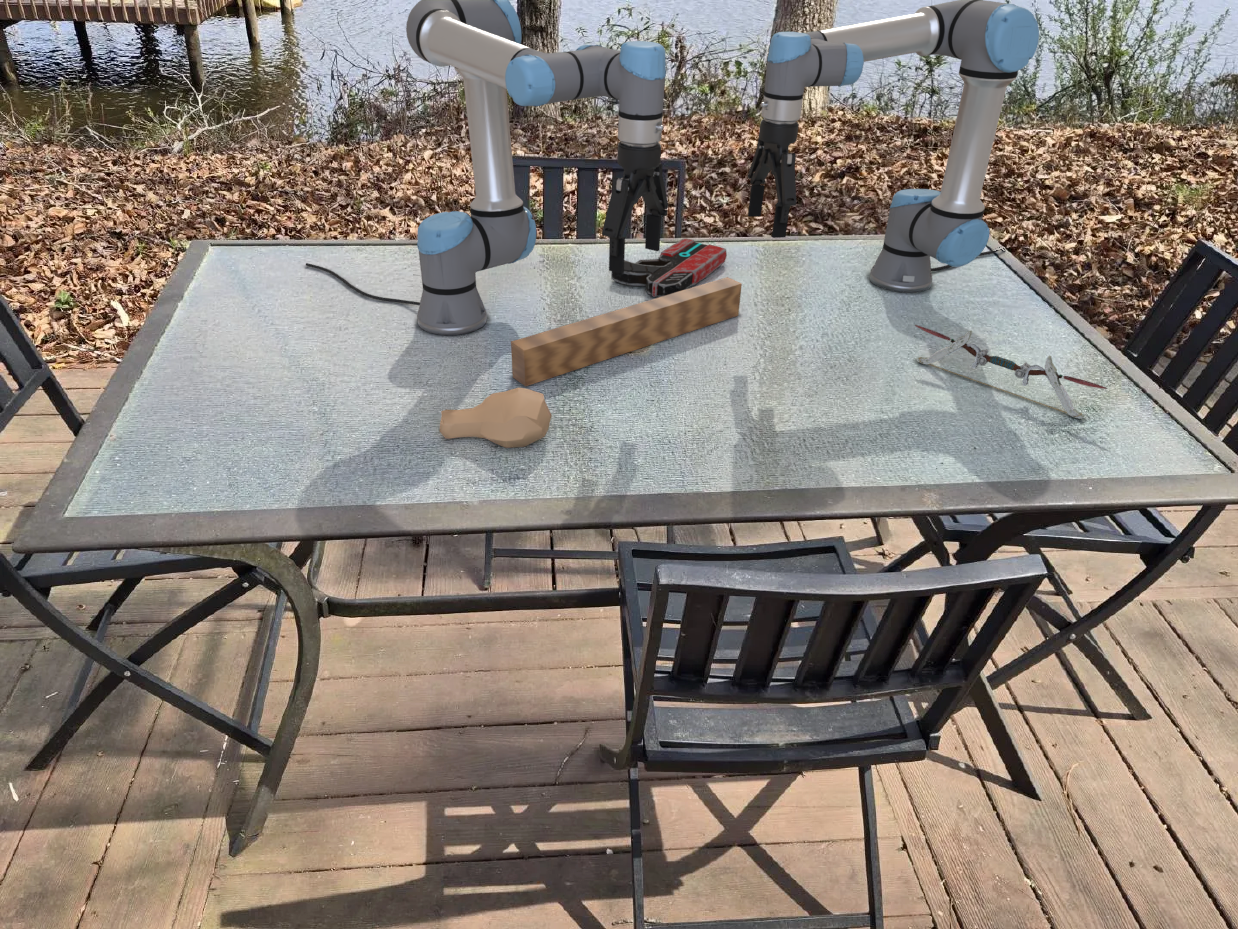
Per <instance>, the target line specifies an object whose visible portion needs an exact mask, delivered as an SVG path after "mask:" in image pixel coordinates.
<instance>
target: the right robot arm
mask: <svg viewBox="0 0 1238 929" xmlns="http://www.w3.org/2000/svg"><path fill="white" fill-rule="evenodd" d="M1039 40H1040V28H1039V24H1038V20H1037V19H1036V18H1035V16H1034V14H1033V12H1032V11H1031V10H1029V9H1027V8H1025V7H1022V6H1019V5H1016V4H1014V3H1007V2H1000V1H991V0H952V1H947V2H942V3H937V4H932V5H926V6H923V7H920V8H918V9H917V10H916V11H915V12H914V13H911V14H906V15H900V16H894V17H888V18H883V19H876V20H870V21H865V22H860V23H855V24H853V23H852V24H848V25H843V26H837V27H832V28H831V27H830V28H824V29H820V30H814V31H807V32H797V31H794V30H793V31H778V32H776V33H773V35H772V36H771V40H770V44H769V47H768V48H769V49H768V54H767V59H766V60H767V64H766V75H765V82H764V90H763V91H764V92H763V99H762V100H763V101H762V102H761V103H760V107H761V117H762V119H761V120H760V123H759V129H758V130H759V132H758V139H757V145H756V149H755V151H754V154H753V158H752V160H751V164H750V166H749V170H748V173H747V179H748V180H750V181H749V182H750V195H749V201H748V202H749V203H748V211H747V217H749V218H751V217H752V218H755V217H761V216H762V210H763V202H764V194H765V185H766V184H767V183H766V179H767V177H768V175H769V174H770V173H771V174H772V175H773V176H774V183H775V191H776V197H777V202H776V203H775V205H774V207H775V209H774V218H773V224H772V232H771V238H773V239H779V238H781V239H783V238H786V236H787V229H788V222H789V216H790V210H791V209H790V208H791V207H793V206H794V207H795V206H796V205H797V186H796V185H797V183H796V158H797V155H796V154H797V153H795V152H790V150H789V147H790V145H792V144H794V143H796V142H797V140H798V134H799V127H800V124H799V122H798V121H799V120H800V119H801V115H802V107H803V101H804V94H805V88H811V87H817V88H818V87H838V88H840V87H844V86H851V85H854V84H855V83H856V82H857V81H858V80H859V79H860V78H861V75H862V73H863V71H864V65H865V63H867V62H871V61H876V60H882V59H887V58H894V57H899V56H904V55H909V54H916V55H917V56H920V57H926V56H927V57H928V56H943V57H949V58H953V59H958V60H960V65H959V69H958V76H959V77H960V78H961V80H962V81H963V88H962V91H961V96H960V100H959V105H958V110H957V114H956V119H955V124H954V129H953V133H952V134H953V135H952V138H951V141H950V142H951V143H950V147H949V152H948V156H947V161H946V166H945V170H944V175H943V179H942V184H941V189H940V191H939V190H935V189H928V188H906V189H901V190H899V191H898V190H897V191H896V192H895V193H894V195H893V197H892V199H891V200H892V201H891V203H890V206H889V212H888V217H887V222H886V228H885V234H884V239H883V244H882V249H881V251H880V253H879V254H878V256H877V258H876V261H875V262H874V265H872V267H871V269H870V272H869V276H868V277H869V281H870V282H871V283H872V284H873V285H874V286H877V287H878V288H881V289H883V290H887V291H889V292H890V291H891V292H896V293H904V294H905V293H906V294H915V293H921V292H925V291H928V290H929V289H930V288H931V287H932V284H933V283H932V282H933V273H932V272H938V271H943V270H947V269H950V268H954V267H955V268H959V267H963V266H967V265H969V264H970V263H972V262H973V261H974V260H975V259H976V258H977V257H982V256H988V255H993V254H995V253H997V252H998V251H1002V252H1003V253H1005V252H1006V249H1005V247H1003V249H1004V250H1005V251H1003V250H1002V249H1000V250H996V251H992V250H989V251H984V249H985V248H986V247H987V245H988V243H989V239H990V235H991V234H990V228H989V226H988V223H986V222H985V221H984V220H983V218H984V213H985V208H986V206H985V204H984V202H983V201H982V200H981V196H982V191H983V186H984V182H985V179H986V174H987V170H988V167H989V166H988V165H989V162H990V159H991V153H992V149H993V146H994V142H995V137H996V134H997V133H996V132H997V130H998V124H999V121H1000V117H1001V112H1002V108H1003V103H1004V99H1005V95H1006V91H1007V87H1008V86H1009V85H1010V84H1011V83H1013V82H1014V81H1015V80H1016V79H1017V78H1018V74H1019V71H1020V70H1022V69H1023V68H1025V67H1027V65H1029V62H1030V60H1032V59H1033V57H1034V56H1035V53H1036V52H1037V49H1038V46H1039ZM998 247H999V248H1000V247H1001V246H998ZM931 258H933V259H934V260H936V261H937V262H938V263H941V264H944V265H942V266H938V267H932V263H931Z"/></svg>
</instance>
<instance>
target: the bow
mask: <svg viewBox="0 0 1238 929" xmlns="http://www.w3.org/2000/svg"><path fill="white" fill-rule="evenodd" d="M914 326H915V327H916V328H918V329H920V330H921V331H924V333H925V332H926V333H928V334H930V335H932V336H935V337H937V338H940V339H943V340H946V341H949V342H950V343H951V345H949V346H945V347H943V348H941V349H939V350H937V351H935V352H934V353H933V354H931V355H930V356H927V357H923V356H918V357H917V358H916V361H917V362H918V363H920V364H922V365H929V366H931V367H934V368H937V369H940V370H943V371H946V372H949V373H952V374H954V375H957V376H960V377H963V378H966V379H969V380H971V381H973V382H976V383H979V384H983V385H985V386H988V387H991V388H993V389H997V390H999V391H1003V392H1005V393H1009V394H1010V395H1014V396H1016V397H1019V398H1022V399H1025V400H1027V401H1030V402H1033V403H1037V404H1040V405H1042V406H1045V407H1048V408H1050V409H1054V410H1056V411H1059V412H1062V413H1063V414H1064V413H1065V414H1067V415H1069V416H1070V417H1072V418H1075V419H1079V420H1082V419H1083V418H1085V416H1086V415H1085V414H1083V413H1082V412H1080V411H1079V410H1078V409H1076V408H1075V407H1074V405H1073V402H1072V399H1071V396H1070V395H1069V393H1068V391H1067V390H1066V388H1065V386H1064V385H1062V382H1061V380H1060V379H1062V378H1063V379H1064V380H1066V381H1069V382H1072V383H1076V384H1078V385H1082V386H1087V387H1090V388H1096V389H1103V390H1107V389H1108V387H1106V386H1103V385H1101V384H1097V383H1095V382H1091V381H1089V380H1084V379H1081V378H1078V377H1073V376H1070V375H1069V376H1068V375H1062V374H1059V372H1058V369H1057V367H1056V366H1055V364H1054V362H1053V358H1052V355H1048V356H1047V357H1046V359H1045V363H1044V367H1043V366H1040V365H1039V364H1033V365H1030V363H1028V362H1027V361H1025V362H1024V363H1023V364H1021V365H1018V364H1017V363H1016V362H1014V360H1010V359H1007V358H1004V357H1001V356H998V355H989V349H987V348H986V349H981V348H980V347H979V346H978V345H976V343H975V344H974V343H968V342H969V341H970V340H971V337H972V333H973V330H969V331H967V332H966V333H965V334H964V335H962V336H960V337H958V338H957V339H954V338H951V337H949V336H947V335H945V334H943V333H941V332H938V331H935V330H933V329H929V328H928V327H924V326H922V325H917V324H914ZM963 349H964V350H965V351H967V352H968V353H969V354H970V355H972V356H973V357H974V358H975V359H974V361H973V362H972V365H971V368H972V369H976V368H978V365H980V366H983V367H985V365H987V364H988V363H990V364H992V365H995V366H998V367H1002V368H1005V369H1007V370H1010V371H1014V376H1015V377H1016V378H1018V379H1022V381H1021V382H1022V383H1021V386H1024V387H1027V386H1028V385H1029V381H1030V378H1029V377H1030V376H1045V378H1047V380H1048V382H1049V383H1050V386H1051V387H1052V388H1053V390H1054V392H1055V395H1056V397H1057V398H1058V400H1059V403H1060V405H1061V407H1062V408H1063V410H1062V409H1059V408H1056V407H1053V406H1050V405H1047V404H1044V403H1042V402H1040V401H1036V400H1033V399H1030V398H1027V397H1025V396H1022V395H1019V394H1016V393H1013V392H1011V391H1007V390H1005V389H1002V388H999V387H996V386H994V385H991V384H988V383H985V382H982V381H979V380H976V379H974V378H971V377H969V376H966V375H962V374H959V373H957V372H953V371H951V370H948V369H945V368H942V367H940V366H937V365H934V364H933V363H936V362H939V361H941V360H943V359H944V358H946V357H948V356H949V355H951V354H953V353H955V352H958V351H960V350H963Z"/></svg>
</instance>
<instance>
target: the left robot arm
mask: <svg viewBox="0 0 1238 929" xmlns="http://www.w3.org/2000/svg"><path fill="white" fill-rule="evenodd" d="M405 31H406V37H407V42H408V44H409V46H410V47H411V49H412V51H413V52H414V54H415V55H417V56H418V57H419V58H420V59H422V60H423V61H424V62H427V63H429V64H431V65H433V66H436V67H439V68H440V67H441V68H446V67H449V66H451V67H453V68H454V70H455V71H456V72H457V74H459V75H460V76H461V77H462V79H463V80H462V81H463V88H464V99H465V108H466V117H467V127H468V136H469V145H470V155H471V163H472V172H473V181H474V191H475V197H474V199H473V200H472V201H471V202H470V204H469V208H470V215H469V214H468V213H467V212H464V211H457V210H453V211H452V210H451V211H449V212H448V211H443V212H438V213H434V214H432V215H429V216H427V217H426V218H424V219H423V220H422V221H421V222H420V224H419V226H418V227H417V230H416V231H417V232H416V233H417V238H416V239H417V242H416V246H417V247H416V248H417V250H418V258H419V259H418V260H419V267H420V275H421V276H420V278H421V284H422V292H421V297H420V301H413V300H405V299H399V298H391V297H383V296H378V295H373V294H370V293H367V292H365V291H362V290H361V289H360V288H358V287H356V286H354V285H352V284H351V283H350V282H348V281H347V280H346V279H345V278H343V277H342V276H341V275H339V274H337V273H336V272H334V271H332V269H328V268H326V267H323V266H320V265H316V264H312V263H308V262H306V263H305V266H306V267H309V268H313V269H317V270H319V271H324V272H326V273H328V274H330V275H332V276H333V277H335V278H337V279H338V280H339V281H341V282H343V283H344V284H345V285H346V286H348V287H349V288H350V289H352V290H353V291H355V292H357V293H359V294H360V295H362V296H365V297H367V298H370V299H374V300H378V301H383V302H390V303H398V304H400V303H401V304H407V305H412V306H413V305H414V306H418V310H417V315H416V318H417V325H418V326H419V328H420V329H421V330H423V331H424V332H427V333H430V334H433V335H440V336H459V335H465V334H469V333H473V332H476V331H477V330H480V329H481V328H483V327H484V326H485V325H486V323H487V320H488V316H487V310H486V306H485V304H484V302H483V299H482V298H481V295H480V293H479V291H478V288H477V278H476V277H477V276H476V273H478V272H481V271H485V270H488V269H489V270H490V269H493V268H496V267H500V266H503V265H504V266H505V265H510V264H514V263H517V262H518V261H521V260H525V259H526V258H528V257H529V256H530V254H532V252H533V250H534V248H535V246H536V241H537V225H536V221H535V219H533V214H532V212H531V211H530V209H528V208H527V207H526V206H524V201H523V199H521V197H519V196H518V195H517V193H516V184H515V174H514V161H513V151H512V150H513V149H512V139H511V138H512V137H511V128H510V127H511V126H510V115H509V104H508V102H509V101H508V96H509V97H510V98H512V100H513V102H514V103H515V104H516V105H518V106H521V107H541V106H544V105H548V104H549V105H551V104H556V103H562V102H569V101H575V100H582V99H588V98H595V97H596V98H597V97H606V98H610V99H613V100H616V101H618V122H617V123H618V125H617V139H618V140H619V142H618V143H617V154H616V155H617V156H616V158H617V161H616V162H617V164H618V165H619V166H620V167H621V168H622V170H623V173H622V174H623V175H622V177H621V178H620V177H615V176H614V178H613V179H612V189H611V194H610V198H609V202H608V207H607V210H606V214H605V217H604V222H603V227H602V230H601V231H602V232H601V235H602V236H603V237H608V238H609V247H608V248H609V250H608V272H611V271H612V272H616V273H620V274H622V273H624V260H625V253H626V252H625V250H626V237H625V236H624V233H625V230H626V228H627V226H628V223H629V220H630V217H631V214H632V211H633V208H634V207H635V205H636V204H638V203H639V200H640V199H641V198H642V199H643V201H644V204H645V206H646V208H647V210H648V212H649V213H647V214H646V220H645V221H646V223H645V242H644V243H645V244H644V249H647V250H650V251H654V252H659V251H660V249H661V248H660V247H661V230H662V228H661V227H662V216H663V217H666V216H667V215H668V210H667V209H668V208H669V202H668V196H667V191H666V186H665V182H664V175H663V163H662V162H661V160H662V159H661V158H662V145H661V143H660V141H662V134H663V130H664V125H663V116H664V100H665V99H664V98H665V84H666V75H667V68H666V67H667V64H666V62H667V61H666V49H665V47H664V45H662V44H660V43H658V42H655V41H646V40H645V41H644V40H631V41H630V40H629V41H626V42H623V43H622V44H621V45H620V49H619V50H616V49H613V48H609V47H606V46H602V45H601V44H583V45H580V46H578V47H577V48H576V50H570V51H560V52H558V51H557V52H543V51H540V50H537V49H534V48H532V47H529V46H527V45H524V44H522V27H521V22H520V18H519V15H518V13H517V11H516V9H515V7H514V5H512V4H511V2H510V0H419V1H417V3H416V4H415V5H414V6H413V7H412V9H411V10H410V12H409V14H408V16H407V20H406V25H405ZM507 93H508V94H507Z"/></svg>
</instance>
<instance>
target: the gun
mask: <svg viewBox="0 0 1238 929" xmlns="http://www.w3.org/2000/svg"><path fill="white" fill-rule="evenodd" d="M727 256H728V254H727V248H725V247H722V246H718V245H713V244H704V243H700V242H697V241H695V239H692V238H687V237H686V238H682V239H680V240H678V241H677V242H675V243H673V244H672V245H669V247H666V248H665V249H663V250H661V252H660V254H659V256H658V258H652V259H651V258H649V259H639V260H636V262H631V261H629V260H626V259H624V273H622V274H620V273H616V272H612V271H610V272H611V276H610V279H611V280H612V281H614V282H616V283H619V284H623V285H627V286H637V287H640V286H641V287H642V286H643V287H645V291H646V292H647V294H648V295H651V297H654V298H659V297H662V296H665V295H669V294H672V293H676V292H679V291H682V290H686V289H689V288H691V286H695V285H696V284H698V283H699V282H701V281H702V280H704V279H705V278H707V277H708V276H709V275H710V274H712V273H714V271H716V270H717V269H718V268H720V267H721V266H722V265H723V264H724V263H726V259H727Z"/></svg>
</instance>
